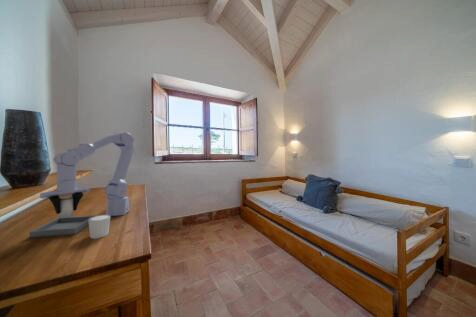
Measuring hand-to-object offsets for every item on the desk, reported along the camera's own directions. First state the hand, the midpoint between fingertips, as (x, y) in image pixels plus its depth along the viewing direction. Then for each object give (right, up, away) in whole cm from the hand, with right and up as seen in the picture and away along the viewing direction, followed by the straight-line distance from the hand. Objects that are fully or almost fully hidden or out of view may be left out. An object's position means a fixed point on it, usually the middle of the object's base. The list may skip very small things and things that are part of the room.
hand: (66, 211), depth 71 cm
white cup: (+18, -8, -4) cm, 20 cm away
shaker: (0, -2, 0) cm, 2 cm away
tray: (0, -7, 0) cm, 7 cm away
